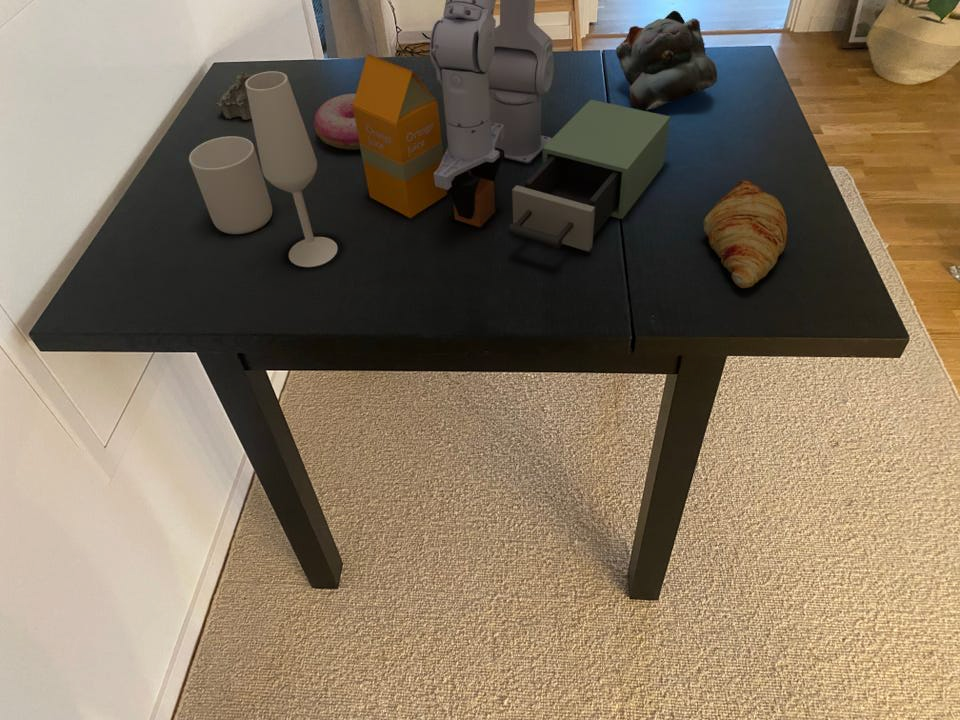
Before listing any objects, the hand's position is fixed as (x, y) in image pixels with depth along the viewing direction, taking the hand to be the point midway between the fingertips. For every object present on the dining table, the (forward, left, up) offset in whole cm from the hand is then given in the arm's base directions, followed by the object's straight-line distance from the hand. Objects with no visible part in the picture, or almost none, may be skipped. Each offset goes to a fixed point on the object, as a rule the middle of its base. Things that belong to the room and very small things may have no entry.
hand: (474, 207), depth 102 cm
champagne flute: (-16, -17, -2) cm, 23 cm away
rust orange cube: (0, 0, -1) cm, 1 cm away
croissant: (+34, +10, -2) cm, 36 cm away
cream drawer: (+13, +3, -1) cm, 13 cm away
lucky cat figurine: (+10, +44, -2) cm, 45 cm away
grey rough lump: (-54, +11, -2) cm, 55 cm away
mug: (-31, -14, -2) cm, 34 cm away
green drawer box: (+12, +16, -1) cm, 20 cm away
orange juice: (-12, 0, -2) cm, 12 cm away
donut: (-30, +11, -2) cm, 32 cm away
